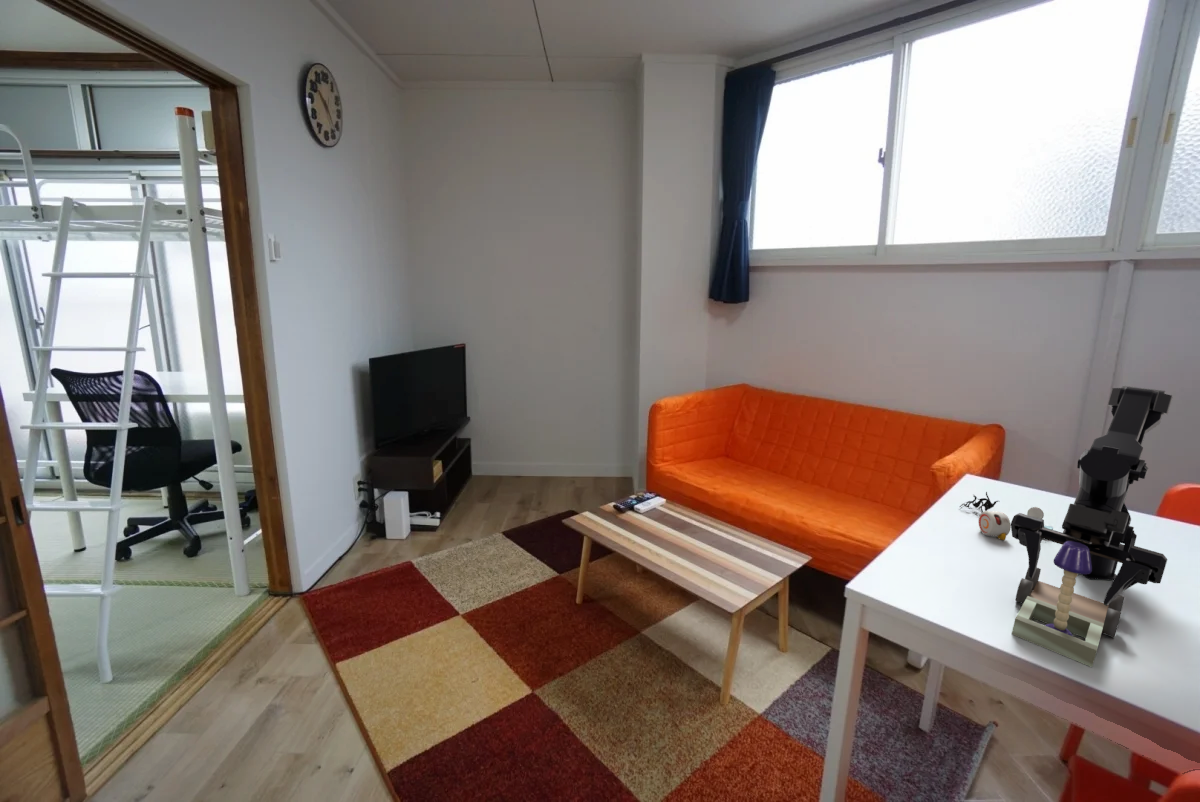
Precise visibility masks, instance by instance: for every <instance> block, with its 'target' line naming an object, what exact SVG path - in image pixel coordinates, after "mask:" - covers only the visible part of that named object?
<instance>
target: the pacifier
mask: <svg viewBox="0 0 1200 802" xmlns="http://www.w3.org/2000/svg"><path fill="white" fill-rule="evenodd" d="M1026 515H1029V516H1032V517H1036V518H1039V519H1043V520H1044V517H1045V513H1044V510H1042V509H1041V508H1040V507H1038V506H1034V507H1033V506H1032V507H1030V508H1029V509H1028V510H1027V513H1026ZM1044 528H1048V529H1051V530H1054V526H1051V525H1044Z"/></svg>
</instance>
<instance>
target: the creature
mask: <svg viewBox="0 0 1200 802" xmlns="http://www.w3.org/2000/svg"><path fill="white" fill-rule="evenodd" d="M972 496H973V498H974V499H973V500H969V501H965V502H964V503H961V504H960V506H959V509H960V510H961V509H963V507H965V508H967V507H968V508H970V505H971V504H972V506H973V508H974V509H976V510H978V509H979V510H981V513H982V512H984V511H989V510H991V509H993V508H994V506H995V505H996V504H997V502H999V500H995V501H994V502H993V503H992V502H991V500H990V498H989V495H988V491H986V492H985V496H986V497H985V498H984V497H982V498H978V497H977V496H976V495H975V494H972ZM977 500H978V501H977ZM976 501H977V502H976ZM984 501H985V502H984ZM983 508H984V510H983ZM981 513H980V514H981ZM980 514H978V517H979V516H980Z"/></svg>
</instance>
